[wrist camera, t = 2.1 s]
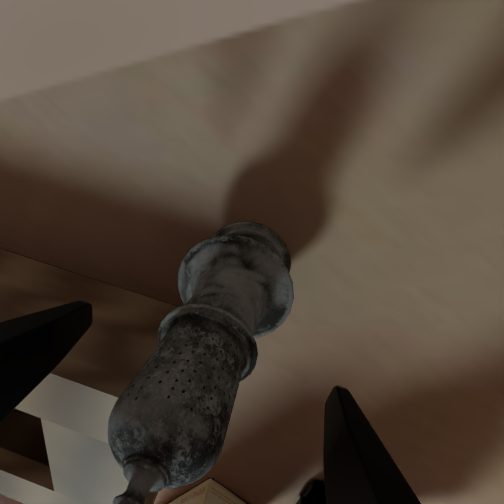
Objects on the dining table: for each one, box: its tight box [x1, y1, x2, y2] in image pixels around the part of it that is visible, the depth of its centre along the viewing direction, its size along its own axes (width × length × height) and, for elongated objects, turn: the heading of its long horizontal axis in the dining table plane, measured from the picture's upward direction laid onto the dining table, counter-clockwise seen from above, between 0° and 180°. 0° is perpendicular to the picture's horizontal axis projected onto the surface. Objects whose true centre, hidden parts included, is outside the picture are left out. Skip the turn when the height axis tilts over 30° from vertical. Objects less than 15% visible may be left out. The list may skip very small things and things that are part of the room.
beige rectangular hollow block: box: [0, 249, 178, 504], centre depth 18 cm, size 20×16×7 cm
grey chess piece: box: [107, 222, 294, 504], centre depth 10 cm, size 6×6×12 cm
